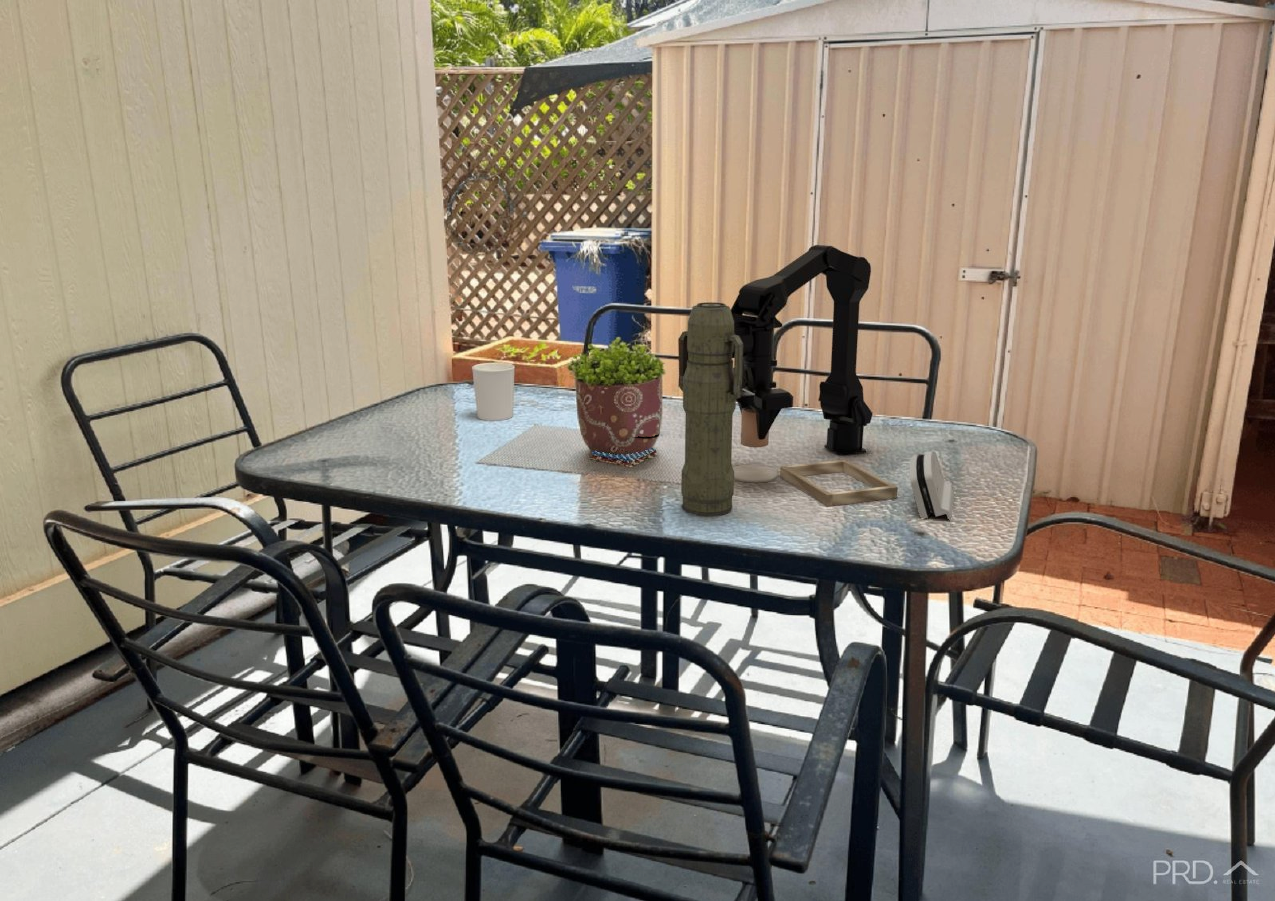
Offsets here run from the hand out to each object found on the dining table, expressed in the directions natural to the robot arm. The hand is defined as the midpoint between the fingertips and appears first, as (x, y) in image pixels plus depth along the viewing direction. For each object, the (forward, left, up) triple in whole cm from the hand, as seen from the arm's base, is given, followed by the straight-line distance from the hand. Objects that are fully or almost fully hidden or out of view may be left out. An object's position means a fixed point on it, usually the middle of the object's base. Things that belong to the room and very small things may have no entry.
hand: (755, 435), depth 187 cm
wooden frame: (-11, +11, -8) cm, 18 cm away
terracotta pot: (0, 0, -2) cm, 2 cm away
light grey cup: (+38, -62, -8) cm, 73 cm away
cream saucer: (0, 0, -8) cm, 8 cm away
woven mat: (+20, -20, -9) cm, 29 cm away
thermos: (+16, +14, -8) cm, 23 cm away
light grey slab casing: (-22, +25, -8) cm, 34 cm away
